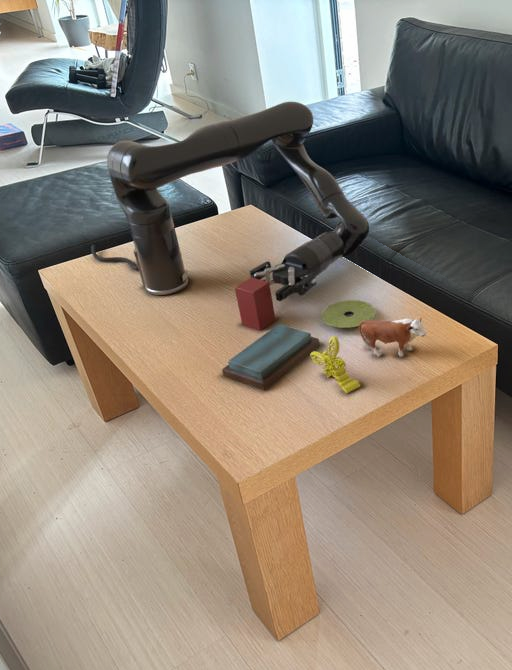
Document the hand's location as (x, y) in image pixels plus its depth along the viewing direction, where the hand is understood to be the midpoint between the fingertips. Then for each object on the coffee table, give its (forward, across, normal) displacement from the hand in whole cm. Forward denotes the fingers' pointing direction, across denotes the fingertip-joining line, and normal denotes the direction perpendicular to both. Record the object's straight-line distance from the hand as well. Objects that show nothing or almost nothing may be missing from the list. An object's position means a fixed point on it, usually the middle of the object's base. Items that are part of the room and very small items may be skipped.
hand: (261, 292), depth 154 cm
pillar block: (+2, 0, -6) cm, 6 cm away
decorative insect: (+11, -26, -6) cm, 29 cm away
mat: (-7, -17, -6) cm, 19 cm away
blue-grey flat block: (+12, -12, -6) cm, 18 cm away
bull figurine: (-1, -32, -6) cm, 33 cm away
